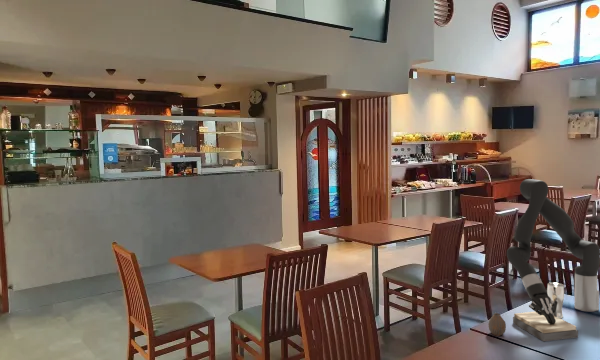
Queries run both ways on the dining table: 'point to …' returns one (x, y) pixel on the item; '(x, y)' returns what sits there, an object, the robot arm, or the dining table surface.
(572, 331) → the floor board
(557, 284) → the metal can
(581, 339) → the dining table surface
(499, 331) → the vase
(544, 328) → the oak plank
